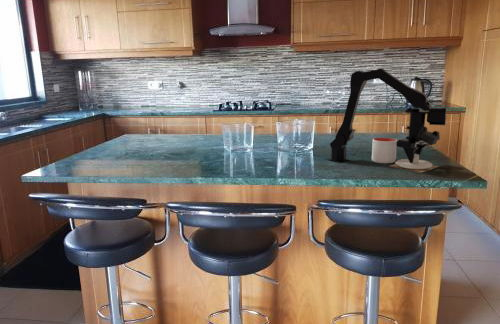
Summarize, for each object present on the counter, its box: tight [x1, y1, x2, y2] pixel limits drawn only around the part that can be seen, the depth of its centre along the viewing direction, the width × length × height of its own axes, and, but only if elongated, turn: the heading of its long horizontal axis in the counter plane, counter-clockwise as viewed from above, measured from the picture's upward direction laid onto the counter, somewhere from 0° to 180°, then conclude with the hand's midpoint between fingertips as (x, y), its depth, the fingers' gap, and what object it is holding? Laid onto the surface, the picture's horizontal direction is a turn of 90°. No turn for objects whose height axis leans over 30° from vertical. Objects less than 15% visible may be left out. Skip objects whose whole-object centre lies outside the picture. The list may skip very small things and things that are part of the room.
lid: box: [394, 154, 433, 169], centre depth 160 cm, size 14×14×4 cm
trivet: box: [389, 163, 439, 174], centre depth 160 cm, size 14×14×1 cm
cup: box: [371, 137, 398, 164], centre depth 170 cm, size 10×10×10 cm
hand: (413, 161), depth 160 cm, fingers closed on lid, 4 cm apart
